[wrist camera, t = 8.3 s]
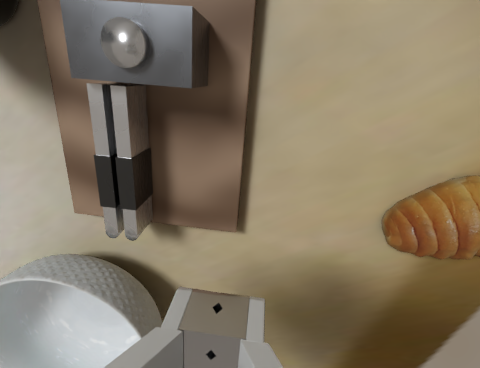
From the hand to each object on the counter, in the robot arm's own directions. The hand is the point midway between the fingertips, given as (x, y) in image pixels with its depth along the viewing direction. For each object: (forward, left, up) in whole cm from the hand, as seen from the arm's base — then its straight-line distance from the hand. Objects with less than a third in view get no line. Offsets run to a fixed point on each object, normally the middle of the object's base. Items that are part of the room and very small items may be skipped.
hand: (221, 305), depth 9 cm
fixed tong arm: (-1, -10, -13) cm, 17 cm away
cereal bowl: (+17, -15, -15) cm, 27 cm away
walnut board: (-5, -8, -15) cm, 18 cm away
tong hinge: (-9, -7, -13) cm, 17 cm away
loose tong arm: (-1, -8, -13) cm, 16 cm away
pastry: (+2, +17, -15) cm, 23 cm away
